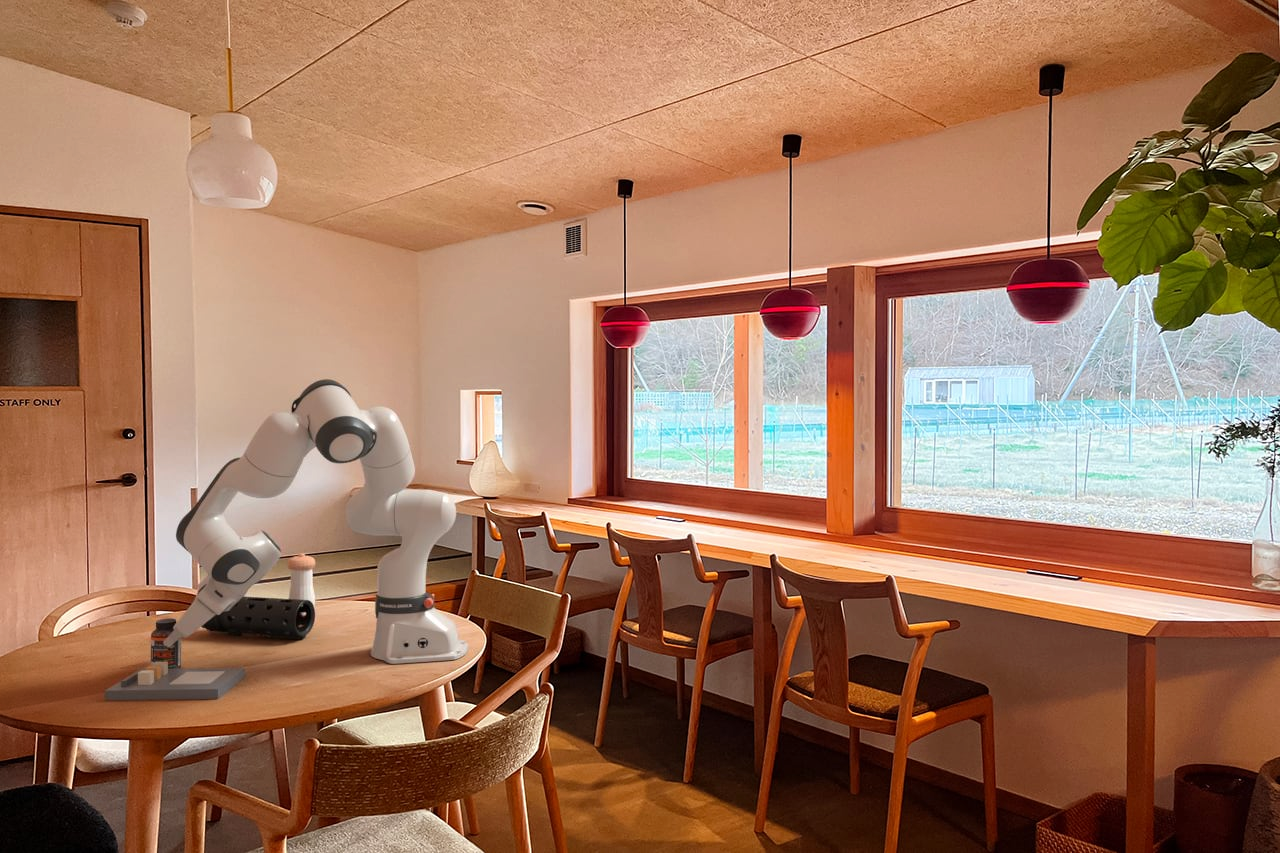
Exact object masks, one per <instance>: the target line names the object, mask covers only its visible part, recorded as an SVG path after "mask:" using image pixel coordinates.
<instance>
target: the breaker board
mask: <svg viewBox="0 0 1280 853" xmlns="http://www.w3.org/2000/svg"><path fill="white" fill-rule="evenodd" d="M244 678H246V667H207V668H206V667H205V668H204V667H203V668H202V667H201V668H200V667H197V668H193V667H191V668H183V667H181V668H180V669H168V662H155V663H153V664H152V666H151V665H146V666H143V667H142V668H140V669H138V670H136V671H135V672H133V673H132V674H130V675H128V676H126V677H125V678H123V679H122V680H120V681H118V682H117V683H115V684H114V685H112V686H110V687H108V688H107V689H105V690H104V701H147V700H148V701H150V700H152V701H154V700H155V701H159V700H161V701H163V700H164V701H165V700H218V699H220V698H221V697H223V695H225V694H226V693H227V692H229V691H230V690H231V689H232V688H233V687H234V686H236V685H237V684H238V683H239V682H241V681H242V680H243V679H244Z"/></svg>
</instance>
